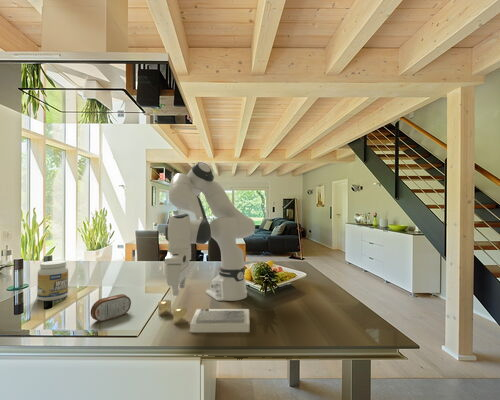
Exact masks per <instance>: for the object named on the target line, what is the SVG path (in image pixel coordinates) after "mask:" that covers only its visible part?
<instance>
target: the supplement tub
mask: <svg viewBox="0 0 500 400" xmlns="http://www.w3.org/2000/svg"><path fill="white" fill-rule="evenodd" d="M36 287H37V289H36V290H37V291H36V292H37V293H36V294H37V295H36V298H37V299H38V300H39V301H43V302H51V301H56V300H61V299H63V298H66V297H67V295H68V293H69V268H68V267H67V261H66V260H61V259H59V260H49V261H43V262H40V265H39V269H38V271H37V286H36Z"/></svg>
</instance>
